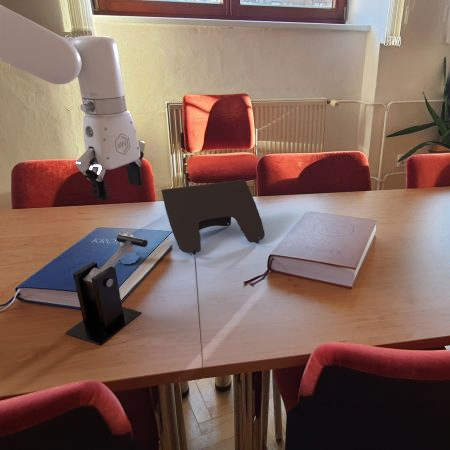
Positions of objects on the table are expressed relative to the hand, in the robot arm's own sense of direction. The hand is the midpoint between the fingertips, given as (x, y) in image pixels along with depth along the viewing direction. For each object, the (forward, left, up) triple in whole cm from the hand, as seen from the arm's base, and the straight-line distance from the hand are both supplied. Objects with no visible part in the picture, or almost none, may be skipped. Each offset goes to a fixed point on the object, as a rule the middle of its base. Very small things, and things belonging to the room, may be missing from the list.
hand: (119, 191), depth 91 cm
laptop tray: (+8, +23, -19) cm, 30 cm away
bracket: (+10, -18, -19) cm, 28 cm away
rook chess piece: (-2, +2, -19) cm, 19 cm away
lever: (+10, -14, -8) cm, 19 cm away
